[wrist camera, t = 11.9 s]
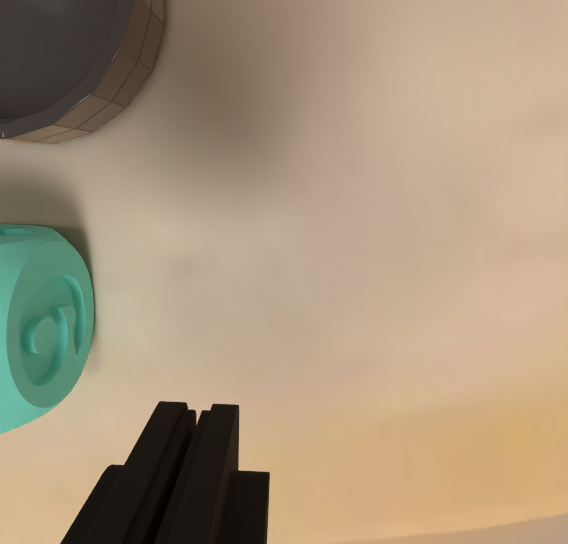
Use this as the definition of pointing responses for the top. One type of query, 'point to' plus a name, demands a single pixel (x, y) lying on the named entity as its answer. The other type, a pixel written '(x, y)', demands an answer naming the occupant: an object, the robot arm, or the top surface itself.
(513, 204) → the top surface
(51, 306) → the decorative dice
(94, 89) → the pan
